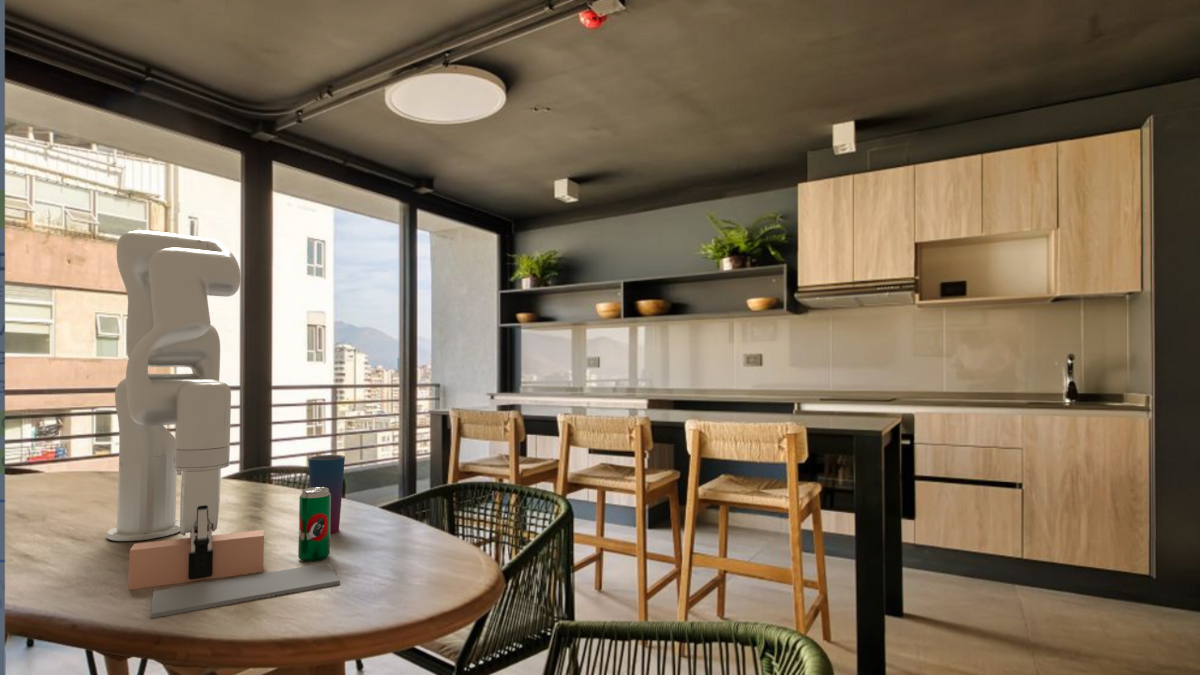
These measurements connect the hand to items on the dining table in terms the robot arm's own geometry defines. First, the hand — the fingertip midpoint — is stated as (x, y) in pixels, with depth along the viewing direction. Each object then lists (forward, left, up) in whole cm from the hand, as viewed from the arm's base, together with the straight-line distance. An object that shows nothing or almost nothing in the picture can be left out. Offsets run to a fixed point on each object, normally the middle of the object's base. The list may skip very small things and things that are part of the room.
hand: (199, 571), depth 103 cm
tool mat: (+11, +6, -1) cm, 12 cm away
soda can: (0, +17, -1) cm, 17 cm away
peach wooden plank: (0, 0, -1) cm, 1 cm away
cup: (-17, +22, -1) cm, 28 cm away
